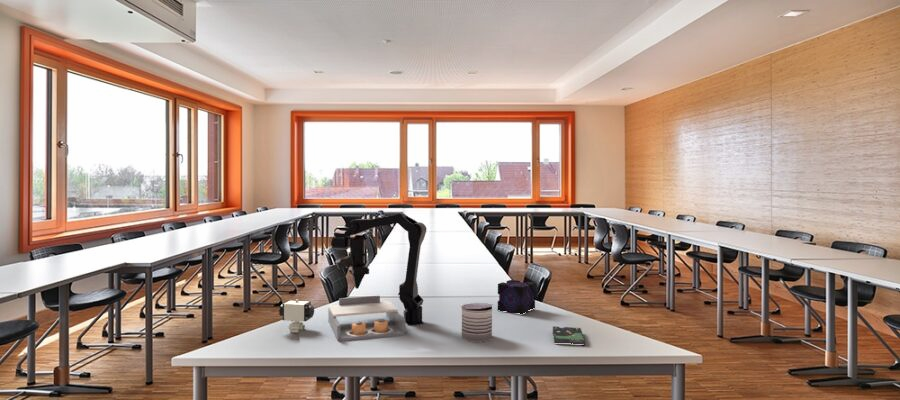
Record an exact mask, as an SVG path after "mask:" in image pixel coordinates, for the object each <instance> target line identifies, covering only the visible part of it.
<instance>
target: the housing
mask: <svg viewBox="0 0 900 400" xmlns="http://www.w3.org/2000/svg"><path fill="white" fill-rule="evenodd" d="M327 308H328V317H327V318H328V320H327V321H328V323H329V326H330V328H331V330H332V332H333V334H334V337H335V340H337V341H338V342H348V341H358V340H359V341H361V340H368V339H379V338H389V337H390V338H391V337H397V336H398V337H400V336H404V335H406V323H405V319H404V316H403V315H402V314H401V313H399V311H398V312H386V313H385V316H386V317H385V318H387V319H388V320H387V321H388V332H386V333H375V332H374V322H375V321H374V322H365V323H366V334H364V335H352V324H353V323H351V324H340V322H339V320H338V319H337V317H333V315H332V313H331V311H330V309H329V307H327Z"/></svg>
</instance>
